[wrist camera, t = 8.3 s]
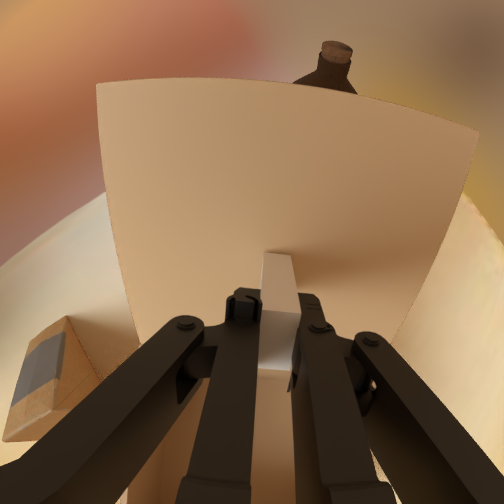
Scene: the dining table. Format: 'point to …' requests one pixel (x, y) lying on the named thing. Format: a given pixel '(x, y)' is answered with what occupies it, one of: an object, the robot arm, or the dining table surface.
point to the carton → (263, 455)
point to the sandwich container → (49, 383)
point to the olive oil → (331, 68)
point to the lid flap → (275, 195)
